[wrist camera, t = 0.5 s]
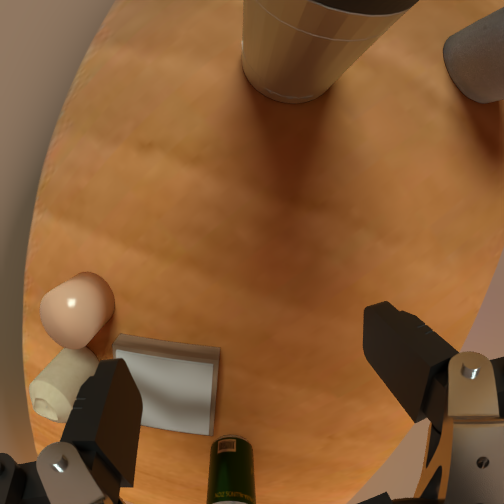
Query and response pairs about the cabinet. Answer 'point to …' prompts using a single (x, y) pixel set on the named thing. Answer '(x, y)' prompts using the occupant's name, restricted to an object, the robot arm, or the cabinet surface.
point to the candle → (62, 383)
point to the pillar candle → (478, 58)
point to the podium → (173, 382)
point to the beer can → (231, 472)
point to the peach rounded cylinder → (77, 310)
